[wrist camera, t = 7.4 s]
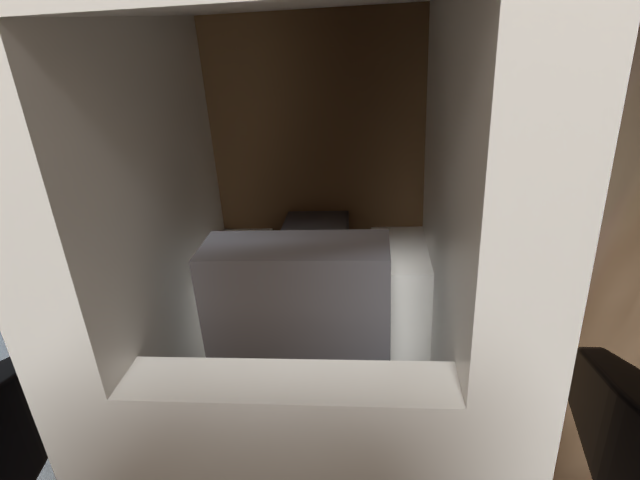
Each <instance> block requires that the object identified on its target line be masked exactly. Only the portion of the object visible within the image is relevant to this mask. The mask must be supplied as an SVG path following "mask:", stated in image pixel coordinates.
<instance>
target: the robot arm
mask: <svg viewBox="0 0 640 480" xmlns="http://www.w3.org/2000/svg"><path fill="white" fill-rule="evenodd" d="M568 401H569V405H570V408H571V411H572V414H573V418H574V421H575V424H576V427H577V431H578V434H579V437H580V440H581V444H582V447H583V450H584V453H585V457H586V460H587V463H588V466H589V470H590V473H591V476H592V479H593V480H640V369H638V368H637V367H635V366H633V365H632V364H630V363H628V362H626V361H625V360H623V359H621V358H620V357H618V356H616V355H615V354H613V353H611V352H610V351H608V350H606V349H604V348H601V347H579V348H578V349H577V354H576V360H575V365H574V370H573V375H572V381H571V386H570V391H569V396H568ZM47 459H48V456H47V453H46V451H45V448H44V445H43V443H42V440H41V437H40V435H39V432H38V429H37V427H36V424H35V421H34V419H33V416H32V413H31V411H30V408H29V406H28V403H27V400H26V398H25V395H24V392H23V390H22V387H21V384H20V382H19V379H18V376H17V374H16V371H15V368H14V366H13V363H12V360H11V358H10V357H8V358H6V359H4V360H2V361H0V480H36V479H37V477H38V476H39V474H40V472H41V470H42V468H43V466H44V465H45V463H46V461H47Z"/></svg>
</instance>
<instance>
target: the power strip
mask: <svg viewBox="0 0 640 480" xmlns="http://www.w3.org/2000/svg"><path fill="white" fill-rule="evenodd" d="M424 1H430V15H429V46H428V76H427V107H426V138H425V169H424V200H423V226H418V227H371V229H389V241H390V254H391V348H390V361H389V360H325V359H261V358H206V356H205V351H204V345H203V340H202V334H201V328H200V323H199V317H198V312H197V306H196V301H195V295H194V289H193V284H192V278H191V273H190V267H189V260H190V259H191V258H192V256H193V255H194V253H195V252H196V251H197V249H198V248H199V247H200V245H201V244H202V243H203V241H204V240H205V239H206V237H207V236H208V235H209V233H210V232H211V231H263V230H273V229H272V228H266V229H224V222H223V215H222V208H221V201H220V194H219V187H218V180H217V173H216V166H215V159H214V152H213V145H212V138H211V131H210V125H209V118H208V111H207V104H206V97H205V90H204V83H203V76H202V69H201V62H200V55H199V48H198V41H197V34H196V27H195V20H194V16H195V15H211V14H228V13H244V12H260V11H277V10H293V9H309V8H326V7H342V6H358V5H375V4H391V3H407V2H424ZM639 23H640V0H0V331H1V334H2V336H3V339H4V342H5V344H6V347H7V350H8V352H9V355H10V358H11V360H12V363H13V366H14V368H15V371H16V374H17V376H18V379H19V382H20V384H21V387H22V390H23V392H24V395H25V398H26V400H27V403H28V406H29V408H30V411H31V413H32V416H33V419H34V421H35V424H36V427H37V429H38V432H39V435H40V437H41V440H42V443H43V445H44V448H45V451H46V453H47V456H48V459H49V461H50V464H51V467H52V469H53V472H54V475H55V477H56V480H553V475H554V470H555V465H556V459H557V454H558V449H559V444H560V438H561V433H562V428H563V423H564V417H565V412H566V407H567V402H568V396H569V391H570V386H571V381H572V375H573V370H574V365H575V360H576V354H577V349H578V344H579V338H580V333H581V328H582V323H583V317H584V312H585V307H586V302H587V296H588V291H589V286H590V281H591V275H592V270H593V265H594V260H595V254H596V249H597V244H598V239H599V233H600V228H601V223H602V218H603V212H604V207H605V202H606V197H607V191H608V186H609V181H610V176H611V170H612V165H613V160H614V155H615V149H616V144H617V139H618V134H619V128H620V123H621V118H622V113H623V107H624V102H625V97H626V92H627V86H628V81H629V76H630V71H631V65H632V60H633V55H634V50H635V44H636V39H637V34H638V29H639Z"/></svg>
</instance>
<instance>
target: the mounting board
mask: <svg viewBox="0 0 640 480" xmlns="http://www.w3.org/2000/svg"><path fill="white" fill-rule="evenodd" d="M429 15H430V1H424V2H407V3H391V4H375V5H358V6H342V7H326V8H309V9H293V10H277V11H260V12H244V13H228V14H211V15H195V16H194V20H195V27H196V34H197V41H198V48H199V55H200V62H201V69H202V76H203V83H204V90H205V97H206V104H207V111H208V118H209V125H210V131H211V138H212V145H213V152H214V159H215V166H216V173H217V180H218V187H219V194H220V201H221V208H222V215H223V222H224V229H266V228H272V229H273V230H263V231H211V232H210V233H209V235H208V236H207V237H206V239H205V240H204V241H203V243H202V244H201V245H200V247H199V248H198V249H197V251H196V252H195V253H194V255H193V256H192V258H191V259H190V260H189V267H190V273H191V278H192V284H193V289H194V295H195V301H196V306H197V312H198V317H199V323H200V328H201V334H202V340H203V345H204V351H205V356H206V358H261V359H325V360H389V361H390V348H391V254H390V241H389V229H371V227H418V226H423V200H424V169H425V138H426V107H427V76H428V46H429Z"/></svg>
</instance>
